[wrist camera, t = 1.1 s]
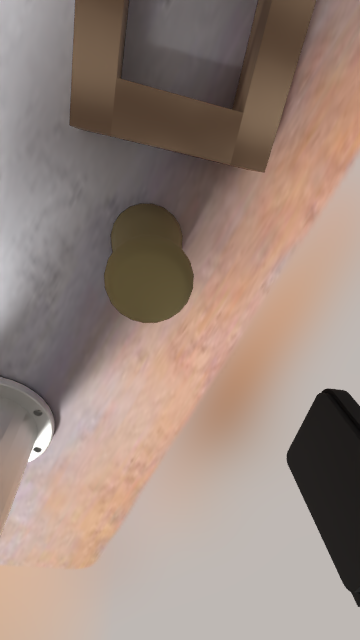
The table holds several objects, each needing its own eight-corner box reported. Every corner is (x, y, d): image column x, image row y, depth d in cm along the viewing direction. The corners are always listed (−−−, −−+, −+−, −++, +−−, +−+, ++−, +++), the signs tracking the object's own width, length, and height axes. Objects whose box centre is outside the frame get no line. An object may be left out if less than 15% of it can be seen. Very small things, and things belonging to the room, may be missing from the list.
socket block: (249, 170, 25) (264, 172, 22) (79, 128, 22) (69, 125, 19) (320, -85, 19) (355, -132, 16) (97, -181, 16) (87, -258, 13)
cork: (178, 198, 25) (200, 226, 16) (186, 269, 28) (209, 330, 19) (103, 208, 25) (79, 244, 16) (119, 279, 28) (107, 346, 18)
